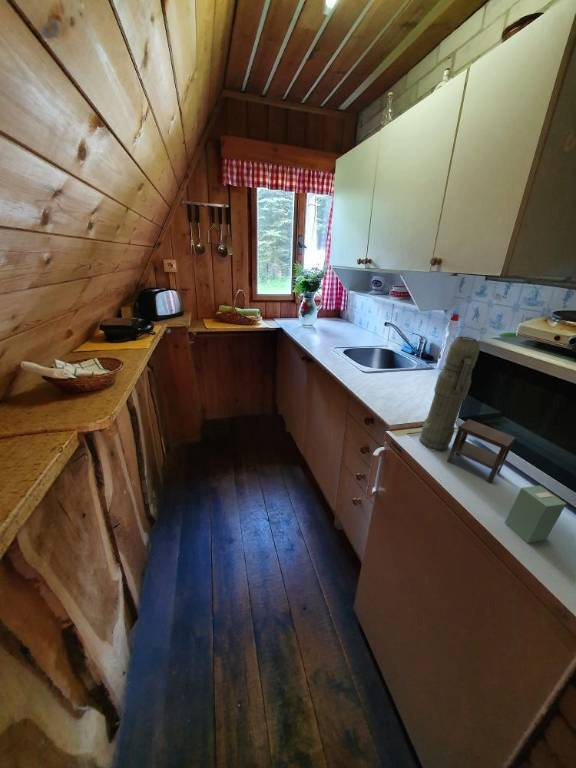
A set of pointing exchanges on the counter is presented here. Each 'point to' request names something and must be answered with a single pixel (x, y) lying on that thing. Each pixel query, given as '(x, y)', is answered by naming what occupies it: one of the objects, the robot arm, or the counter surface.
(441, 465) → the counter surface
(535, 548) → the counter surface
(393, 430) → the counter surface
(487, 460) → the rack
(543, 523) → the pale green box
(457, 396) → the stone statue
